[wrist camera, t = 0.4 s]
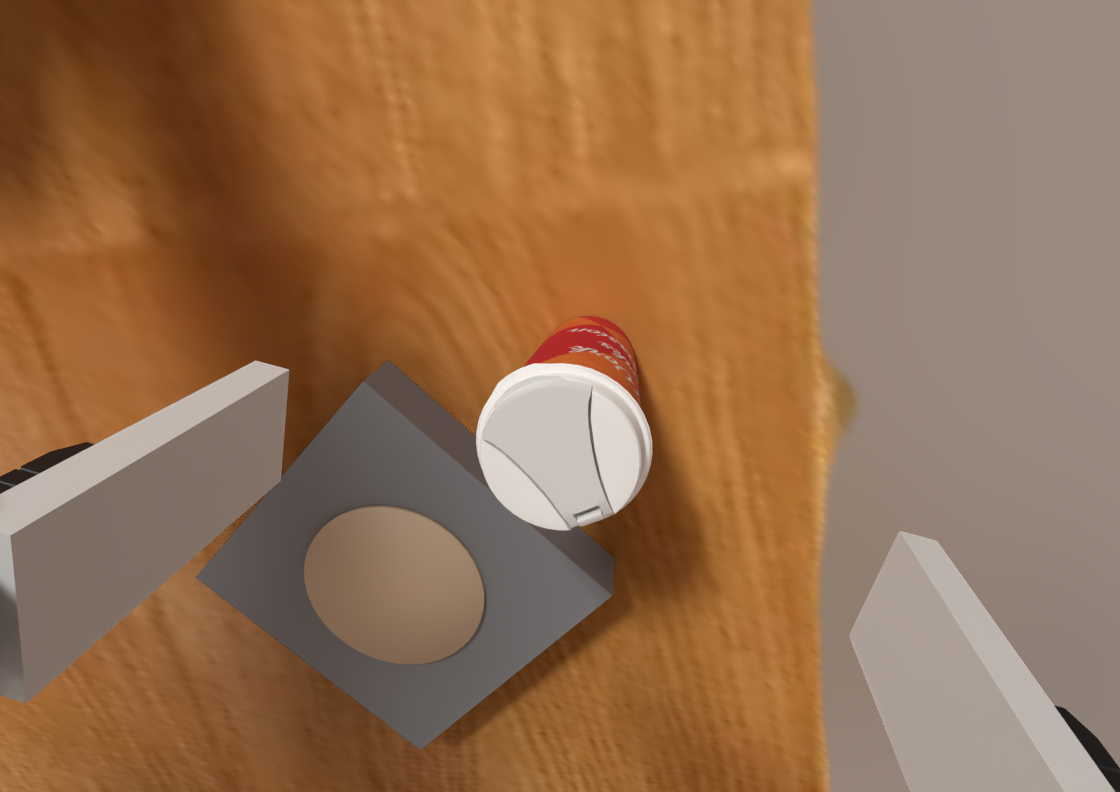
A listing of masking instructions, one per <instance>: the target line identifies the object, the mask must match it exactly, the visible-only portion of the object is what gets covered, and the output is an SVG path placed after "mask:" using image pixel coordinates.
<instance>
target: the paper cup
mask: <svg viewBox="0 0 1120 792" xmlns="http://www.w3.org/2000/svg"><path fill="white" fill-rule="evenodd" d="M476 447H477V455H478V458H479V462H480V465H481V468H482V470H483V474H484V477H485V479H486V481H487V483H488V485H489V488H490V489H491V491H492V492H493V493H494V495H495V496H496V498H497V499H498V500H499V501H500V502H501V503H502V504H503V505H504V506H505V507H506V508H507V509H508V510H509V511H511V512H512V513H513V514H514V515H516V516H518V517H519V518H521V519H523V520H524V521H527V522H529V523H531V524H533V525H536V526H539V527H543V528H546V529H553V530H571V528H573V527H575V526H581V527H583V526H585V525H588V524H591V523H594V522H597V521H600V520H602V519H605V518H607V517H609V516H611V515H613V514H616V513H617V512H618V511H619V510H621V509H622V508H624V507H625V506H626V505H627V504H628V503H629V502H630V501H631V500H633V498H634V497H635V496H636V494H637V493H638V492H639V491H640V489H641V488H642V486H643V484H644V482H645V480H646V478H647V475H648V472H649V469H650V466H651V459H652V438H651V433H650V428H649V425H648V422H647V420H646V417H645V415H644V413H643V411H642V410H641V401H640V391H639V382H638V374H637V366H636V360H635V354H634V351H633V348H632V345H631V343H630V341H629V339H628V337H627V336H626V335H625V333H624V332H623V331H622V330H621V329H620V328H619V327H617V326H616V325H615V324H613V323H612V322H610V321H608V320H605V319H602V318H599V317H592V316H585V317H578V318H574V319H572V320H569V321H567V322H565V323H563V324H562V325H561V326H559V327H558V328H557V329H556V330H555V331H554V332H553V333H552V334H551V335H550V336H549V337H548V338H547V339H546V340H545V342H544V343H543V344H542V345H541V346H540V347H539V349H538V350H537V351H536V352H535V353H534V355H533V356H532V357H531V358H530V360H529V361H528V362H527V363H526V364H525V366H524V367H522V368H520V369H518V370H516V371H514V372H512V373H511V374H509V375H508V376H506V377H505V378H504V379H502V380H501V381H500V382H499V383H498V384H497V386H496V388H495V389H494V391H493V393H492V395H491V396H490V398H489V399H488V401H487V403H486V404H485V406H484V408H483V410H482V413H481V415H480V418H479V422H478V426H477V433H476Z"/></svg>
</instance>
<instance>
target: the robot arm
mask: <svg viewBox="0 0 1120 792" xmlns="http://www.w3.org/2000/svg"><path fill="white" fill-rule="evenodd" d="M288 382H289V369H285V368H282V367H278V366H274V365H270V364H267V363H263V362H259V361H254V362H252V363H250V364H248V365H246V366H244V367H242V368H240V369H239V370H237V371H235V372H233V373H231V374H229V375H227V376H225V377H223V378H221V379H219V380H217V381H216V382H214V383H212V384H210V385H208V386H206V387H204V388H202V389H200V390H198V391H196V392H195V393H193V394H191V395H189V396H187V397H185V398H183V399H181V400H179V401H177V402H175V403H173V404H172V405H170V406H168V407H166V408H164V409H162V410H160V411H158V412H156V413H154V414H152V415H150V416H149V417H147V418H145V419H143V420H141V421H139V422H137V423H135V424H133V425H131V426H129V427H128V428H126V429H124V430H122V431H120V432H118V433H116V434H114V435H112V436H110V437H108V438H106V439H105V440H103V441H101V442H99V443H97V444H91V443H88V442H86V443H82V444H78V445H74V446H70V447H67V448H63V449H59V450H55V451H51V452H49V453H47V454H45V455H43V456H41V457H39V458H37V459H35V460H33V461H31V462H29V463H27V464H25V465H23V466H21V469H20V470H17V469H15V470H13V471H11V472H9V473H6V474H4V475H2V476H0V696H4V697H7V698H11V699H14V700H17V701H21V702H24V703H27V702H28V701H30V700H31V699H32V698H33V697H34V696H35V695H36V694H38V693H39V692H40V691H41V690H42V689H43V688H44V687H46V686H47V685H48V684H49V683H50V682H51V681H52V680H54V679H55V678H56V677H57V676H58V675H59V674H60V673H62V672H63V671H64V670H65V669H66V668H67V667H68V666H70V665H71V664H72V663H73V662H74V661H75V660H76V659H78V658H79V657H80V656H81V655H82V654H83V653H84V652H86V651H87V650H88V649H89V648H90V647H91V646H92V645H94V644H95V643H96V642H97V641H98V640H99V639H100V638H102V637H103V636H104V635H105V634H106V633H107V632H108V631H110V630H111V629H112V628H113V627H114V626H115V625H116V624H118V623H119V622H120V621H121V620H122V619H123V618H124V617H126V616H127V615H128V614H129V613H130V612H131V611H132V610H134V609H135V608H136V607H137V606H138V605H139V604H140V603H142V602H143V601H144V600H145V599H146V598H147V597H148V596H150V595H151V594H152V593H153V592H154V591H155V590H156V589H158V588H159V587H160V586H161V585H162V584H163V583H164V582H166V581H167V580H168V579H169V578H170V577H171V576H172V575H174V574H175V573H176V572H177V571H178V570H179V569H180V568H182V567H183V566H184V565H185V564H186V563H187V562H188V561H190V560H191V559H192V558H193V557H194V556H195V555H196V554H198V553H199V552H200V551H201V550H202V549H203V548H204V547H206V546H207V545H208V544H209V543H210V542H211V541H212V540H214V539H215V538H216V537H217V536H218V535H219V534H220V533H222V532H223V531H224V530H225V529H226V528H227V527H228V526H230V525H231V524H232V523H233V522H234V521H235V520H236V519H238V518H239V517H240V516H241V515H242V514H243V513H244V512H246V511H247V510H248V509H249V508H250V507H251V506H252V505H254V504H255V503H256V502H257V501H258V500H259V499H260V498H262V497H263V496H264V495H265V494H266V493H267V492H268V491H270V490H271V489H272V488H273V487H274V486H275V485H276V484H278V483H279V482H280V481H281V472H282V459H283V446H284V433H285V421H286V408H287V395H288ZM849 638H850V640H851V643H852V645H853V647H854V650H855V653H856V655H857V658H858V661H859V663H860V666H861V668H862V671H863V673H864V676H865V679H866V681H867V683H868V686H869V689H870V691H871V694H872V697H873V699H874V702H875V704H876V707H877V709H878V712H879V714H880V717H881V720H882V722H883V724H884V727H885V730H886V732H887V735H888V737H889V740H890V742H891V745H892V748H893V750H894V753H895V755H896V758H897V761H898V763H899V765H900V768H901V771H902V773H903V776H904V778H905V781H906V783H907V786H908V789H909V791H910V792H1120V768H1119V767H1118V765H1117V764H1116V763H1115V761H1114V760H1113V759H1112V757H1111V756H1110V755H1109V753H1108V752H1107V750H1106V749H1105V748H1104V747H1103V745H1102V744H1101V743H1100V741H1099V740H1098V738H1096V737H1095V736H1094V735H1093V734H1092V733H1091V732H1090V731H1089V730H1088V729H1087V728H1086V727H1085V726H1083V725H1082V724H1081V723H1080V722H1079V721H1078V720H1077V719H1076V718H1074V716H1073V715H1071V714H1070V713H1069V712H1068V711H1067V710H1066V709H1064V708H1062V707H1058V706H1054V705H1053V703H1052V702H1051V701H1050V699H1049V698H1048V697H1047V695H1046V694H1045V692H1044V691H1043V689H1042V688H1041V687H1040V685H1039V684H1038V682H1037V681H1036V680H1035V678H1034V677H1033V675H1032V674H1031V673H1030V671H1029V670H1028V668H1027V667H1026V666H1025V664H1024V663H1023V661H1022V660H1021V659H1020V657H1019V656H1018V654H1017V653H1016V652H1015V650H1014V649H1013V647H1012V646H1011V644H1010V643H1009V642H1008V640H1007V639H1006V637H1005V636H1004V635H1003V633H1002V632H1001V630H1000V629H999V627H998V626H997V625H996V623H995V622H994V621H993V619H992V618H991V616H990V615H989V613H988V612H987V611H986V609H985V608H984V606H983V605H982V604H981V602H980V601H979V599H978V598H977V597H976V595H975V594H974V592H973V591H972V589H971V588H970V587H969V585H968V584H967V582H966V581H965V580H964V578H963V577H962V575H961V574H960V573H959V571H958V570H957V568H956V567H955V566H954V564H953V563H952V561H951V560H950V559H949V557H948V556H947V554H946V553H945V551H944V550H943V549H942V547H941V546H940V544H939V543H938V542H937V541H936V540H932V539H928V538H925V537H921V536H917V535H913V534H910V533H905V532H902V531H899V533H898V535H897V537H896V539H895V541H894V543H893V545H892V547H891V550H890V552H889V554H888V556H887V558H886V560H885V562H884V564H883V566H882V568H881V570H880V573H879V574H878V576H877V578H876V581H875V583H874V585H873V587H872V589H871V591H870V593H869V595H868V597H867V599H866V602H865V603H864V605H863V608H862V610H861V612H860V614H859V616H858V618H857V620H856V622H855V624H854V626H853V628H852V630H851V632H850V635H849Z"/></svg>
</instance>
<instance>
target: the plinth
mask: <svg viewBox="0 0 1120 792" xmlns="http://www.w3.org/2000/svg"><path fill="white" fill-rule="evenodd" d="M615 561H616V559H615V558H614V557H613V556H612V555H611V554H610V553H608V552H607V551H606V550H605V549H604V548H603V547H602V546H600V545H599V544H598V543H597V542H596V541H595V540H594V539H592V538H591V537H590V536H589V535H588V534H587V533H586V532H584V531H583V530H582V529H581V528H580V527H579V526H575V527H573V528H571V530H553V529H546V528H543V527H539V526H536V525H533V524H531V523H529V522H527V521H524V520H523V519H521V518H519V517H518V516H516V515H514V514H513V513H512V512H511V511H509V510H508V509H507V508H506V507H505V506H504V505H503V504H502V503H501V502H500V501H499V500H498V499H497V498H496V496H495V495H494V493H493V492H492V491H491V489H490V488H489V485H488V483H487V481H486V479H485V477H484V474H483V470H482V468H481V465H480V462H479V458H478V455H477V447H476V436H475V435H473V434H472V433H471V432H470V431H469V430H468V429H466V428H465V427H464V426H463V425H462V424H461V423H460V422H458V421H457V420H456V419H455V418H454V417H453V416H452V415H450V414H449V413H448V412H447V411H446V410H445V409H444V408H442V407H441V406H440V405H439V404H438V403H437V402H436V401H434V400H433V399H432V398H431V397H430V396H429V395H428V394H426V393H425V392H424V391H423V390H422V389H421V388H420V387H418V386H417V385H416V384H415V383H414V382H413V381H412V380H410V379H409V378H408V377H407V376H406V375H405V374H404V373H402V372H401V371H400V370H399V369H398V368H397V367H396V366H394V365H393V364H392V363H391V362H390V361H389V360H388V361H387V362H386V363H384V364H383V365H382V366H381V367H380V368H378V369H377V370H376V371H375V372H373V373H372V374H371V375H370V376H369V377H367V378H366V379H365V380H364V381H363V382H362V383H361V384H360V385H359V386H358V387H357V389H356V390H355V391H354V392H353V393H352V395H351V396H350V397H349V398H348V399H347V400H346V402H345V403H344V404H343V405H342V406H341V407H340V409H339V410H338V411H337V412H336V413H335V415H334V416H333V417H332V418H331V419H330V420H329V422H328V423H327V424H326V425H325V426H324V427H323V429H322V430H321V431H320V432H319V433H318V435H317V436H316V437H315V438H314V439H313V440H312V442H311V443H310V444H309V445H308V446H307V447H306V449H305V450H304V451H303V452H302V453H301V454H300V456H299V457H298V458H297V459H296V460H295V462H294V463H293V464H292V465H291V466H290V467H289V469H288V470H287V471H286V472H285V473H284V474H283V476H282V477H281V481H280V482H279V483H278V484H276V485H275V486H274V487H273V488H272V489H271V490H270V491H269V492H268V493H267V494H266V496H265V497H264V498H263V499H262V500H261V502H260V503H259V504H258V505H257V506H256V507H255V509H254V510H253V511H252V512H251V513H250V514H249V516H248V517H247V518H246V519H245V520H244V522H243V523H242V524H241V525H240V526H239V527H238V529H237V530H236V531H235V532H234V533H233V534H232V536H231V537H230V538H229V539H228V540H227V541H226V543H225V544H224V545H223V546H222V547H221V549H220V550H219V551H218V552H217V553H216V554H215V556H214V557H213V558H212V559H211V560H210V561H209V563H208V564H207V565H206V566H205V567H204V569H203V570H202V571H201V572H200V573H199V574H198V576H197V577H196V578H197V579H198V580H200V581H201V582H202V583H204V584H205V585H206V586H207V587H209V588H210V589H211V590H213V591H214V592H215V593H217V594H218V595H219V596H220V597H222V598H223V599H224V600H226V601H227V602H228V603H230V604H231V605H232V606H233V607H235V608H236V609H237V610H239V611H240V612H241V613H243V614H244V615H245V616H246V617H248V618H249V619H250V620H252V621H253V622H254V623H255V624H257V625H258V626H259V627H261V628H262V629H263V630H265V631H266V632H267V633H268V634H270V635H271V636H272V637H274V638H275V639H276V640H278V641H279V642H280V643H281V644H283V645H284V646H285V647H287V648H288V649H289V650H291V651H292V652H293V653H294V654H296V655H297V656H298V657H300V658H301V659H302V660H304V661H305V662H306V663H307V664H309V665H310V666H311V667H313V668H314V669H315V670H317V671H318V672H319V673H320V674H322V675H323V676H324V677H326V678H327V679H328V680H330V681H331V682H332V683H333V684H335V685H336V686H337V687H339V688H340V689H341V690H343V691H344V692H345V693H346V694H348V695H349V696H350V697H352V698H353V699H354V700H356V701H357V702H358V703H359V704H361V705H362V706H363V707H365V708H366V709H367V710H369V711H370V712H371V713H372V714H374V715H375V716H376V717H378V718H379V719H380V720H382V721H383V722H384V723H385V724H387V725H388V726H389V727H391V728H392V729H393V730H395V731H396V732H397V733H398V734H400V735H401V736H402V737H404V738H405V739H406V740H408V741H409V742H410V743H411V744H413V745H414V746H415V747H417V748H418V749H419V750H421V749H422V748H424V747H425V746H426V745H427V744H429V743H430V742H431V741H432V740H434V739H435V738H436V737H437V736H439V735H440V734H441V733H442V732H444V731H445V730H446V729H447V728H449V727H450V726H451V725H452V724H454V723H455V722H456V721H457V720H459V719H460V718H461V717H462V716H463V715H465V714H466V713H467V712H468V711H470V710H471V709H472V708H473V707H475V706H476V705H477V704H478V703H480V702H481V701H482V700H483V699H485V698H486V697H487V696H488V695H490V694H491V693H492V692H493V691H495V690H496V689H497V688H498V687H500V686H501V685H502V684H503V683H505V682H506V681H507V680H508V679H509V678H511V677H512V676H513V675H514V674H516V673H517V672H518V671H519V670H521V669H522V668H523V667H524V666H526V665H527V664H528V663H529V662H531V661H532V660H533V659H534V658H536V657H537V656H538V655H539V654H541V653H542V652H543V651H544V650H546V649H547V648H548V647H549V646H550V645H552V644H553V643H554V642H555V641H557V640H558V639H559V638H560V637H562V636H563V635H564V634H565V633H567V632H568V631H569V630H570V629H572V628H573V627H574V626H575V625H577V624H578V623H579V622H580V621H582V620H583V619H584V618H585V617H587V616H588V615H589V614H590V613H592V612H593V611H594V610H595V609H596V608H598V607H599V606H600V605H601V604H603V603H604V602H605V601H606V600H608V599H609V598H610V597H611V596H612V594H613V583H614V572H615Z"/></svg>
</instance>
